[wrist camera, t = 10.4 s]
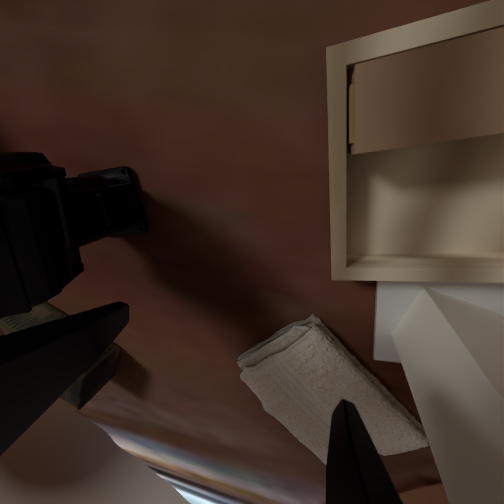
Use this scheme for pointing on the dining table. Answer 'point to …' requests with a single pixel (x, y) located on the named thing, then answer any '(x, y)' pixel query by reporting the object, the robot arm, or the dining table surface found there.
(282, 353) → the washcloth
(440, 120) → the walnut box
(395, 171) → the tray
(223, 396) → the dining table surface
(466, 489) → the cream box
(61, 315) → the beverage carton
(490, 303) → the coaster
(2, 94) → the dining table surface
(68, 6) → the dining table surface
